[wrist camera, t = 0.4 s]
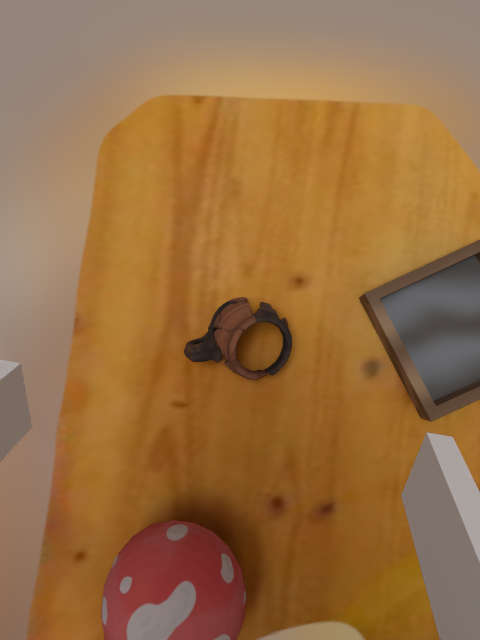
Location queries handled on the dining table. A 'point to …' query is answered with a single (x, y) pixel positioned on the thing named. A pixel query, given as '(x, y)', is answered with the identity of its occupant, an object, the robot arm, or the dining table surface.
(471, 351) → the tray
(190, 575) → the decorative mushroom
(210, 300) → the dining table surface
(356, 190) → the dining table surface
